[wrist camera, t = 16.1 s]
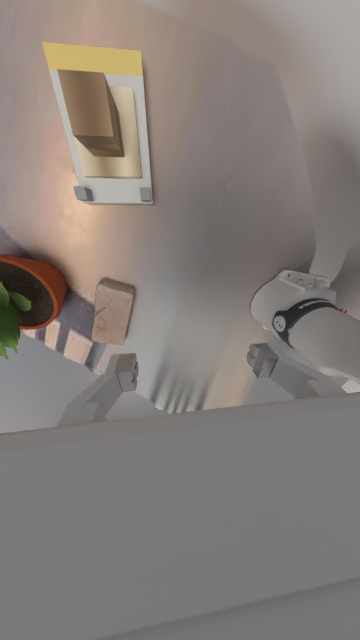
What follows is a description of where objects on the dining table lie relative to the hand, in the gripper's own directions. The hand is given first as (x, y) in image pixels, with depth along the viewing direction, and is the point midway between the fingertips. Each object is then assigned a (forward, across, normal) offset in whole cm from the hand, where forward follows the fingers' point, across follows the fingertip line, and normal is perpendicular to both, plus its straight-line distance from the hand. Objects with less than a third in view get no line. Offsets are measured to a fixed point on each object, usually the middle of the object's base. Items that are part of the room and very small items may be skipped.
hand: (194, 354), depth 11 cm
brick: (+32, +15, +12) cm, 37 cm away
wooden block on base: (+28, +9, -19) cm, 35 cm away
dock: (+31, +9, -19) cm, 38 cm away
